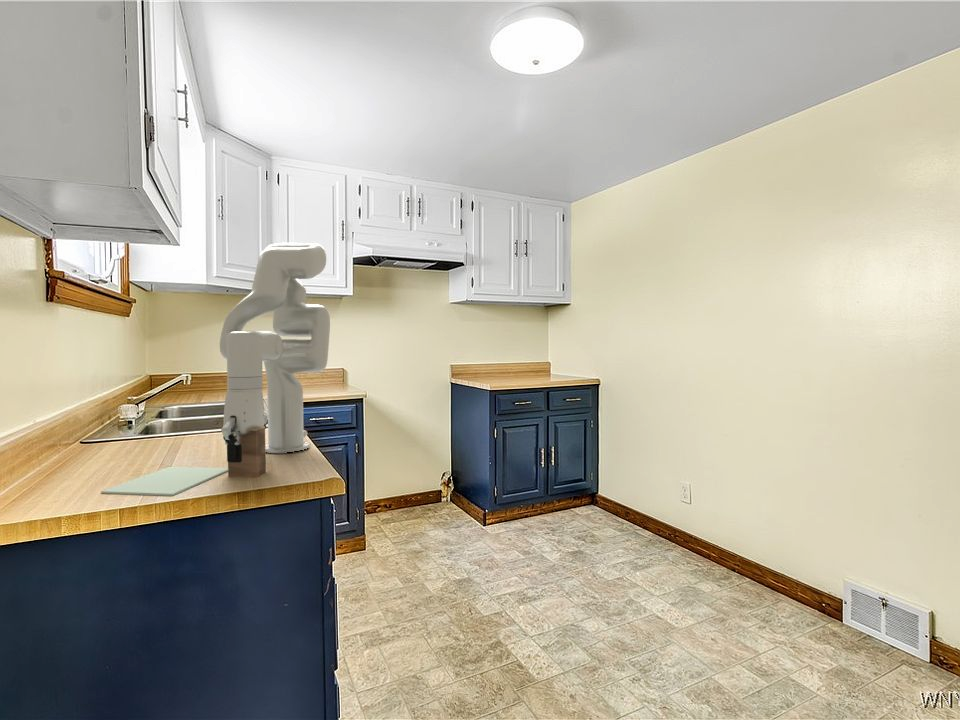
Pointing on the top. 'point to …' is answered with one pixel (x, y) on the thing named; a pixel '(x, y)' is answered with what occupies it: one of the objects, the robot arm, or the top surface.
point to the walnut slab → (251, 455)
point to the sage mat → (167, 481)
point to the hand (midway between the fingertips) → (246, 457)
